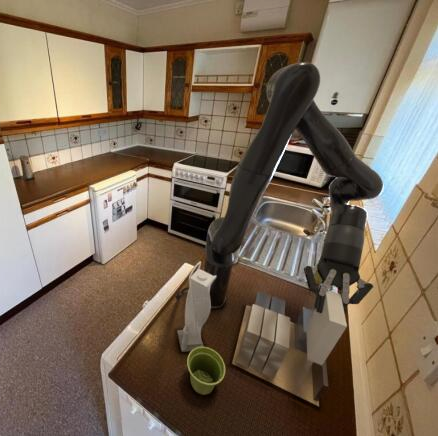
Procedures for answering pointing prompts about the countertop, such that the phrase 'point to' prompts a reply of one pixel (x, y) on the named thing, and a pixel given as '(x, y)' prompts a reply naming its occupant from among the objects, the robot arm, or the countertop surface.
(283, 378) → the book board
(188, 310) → the skyscraper
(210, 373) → the plant pot
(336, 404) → the countertop surface
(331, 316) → the white book
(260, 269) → the countertop surface
